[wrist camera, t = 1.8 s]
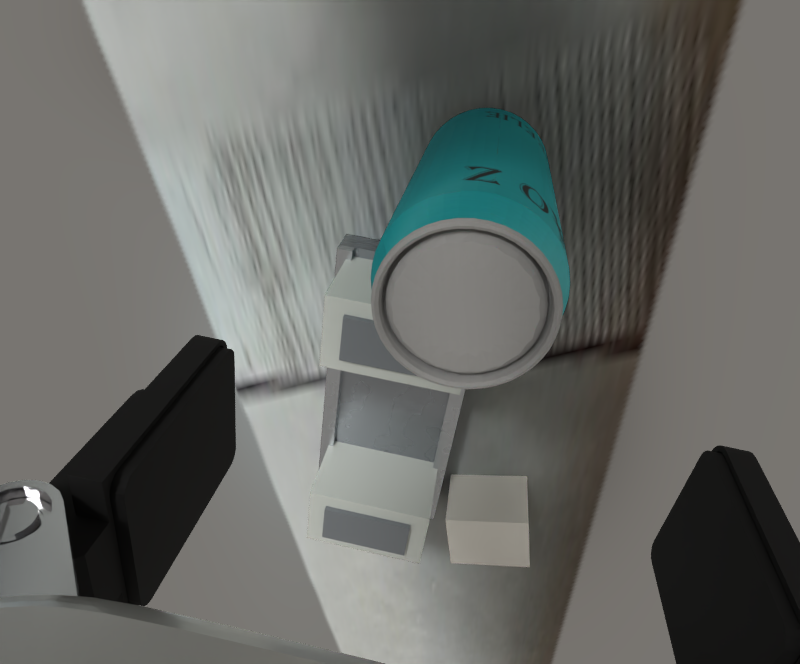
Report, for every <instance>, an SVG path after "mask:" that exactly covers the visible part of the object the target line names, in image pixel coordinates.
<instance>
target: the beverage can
mask: <svg viewBox="0 0 800 664" xmlns="http://www.w3.org/2000/svg"><path fill="white" fill-rule="evenodd" d="M371 288H372V293H371V309H372V317H373V321H374V325H375V328H376V330H377V333H378V335H379V337H380V339H381V341H382V342H383V344H384V346H385V347H386V349H387V350H388V351H389V352H390V354H391V355H392V356H393V357H394V358H395V359H396V360H397V361H398V362H399V363H400V364H401V365H403V366H404V367H405V368H406V369H408V370H409V371H411V372H412V373H414V374H415V375H417V376H419V377H421V378H423V379H425V380H427V381H429V382H432V383H435V384H439V385H442V386H446V387H451V388H458V389H481V388H488V387H493V386H498V385H501V384H504V383H506V382H509V381H512V380H514V379H516V378H518V377H520V376H522V375H523V374H525V373H526V372H527V371H529V370H530V369H532V368H533V367H534V366H535V365H536V364H537V363H538V362H539V361H540V360H541V359H543V357H544V356H545V355H546V353H547V352H548V351H549V349H550V348H551V346H552V344H553V342H554V340H555V338H556V337H557V334H558V331H559V328H560V325H561V321H562V316H563V314H564V312H565V309H566V305H567V302H568V298H569V291H570V271H569V265H568V260H567V254H566V249H565V244H564V239H563V234H562V229H561V224H560V219H559V214H558V209H557V203H556V198H555V193H554V188H553V183H552V178H551V173H550V168H549V163H548V158H547V154H546V150H545V147H544V145H543V143H542V140H541V139H540V137H539V136H538V134H537V133H536V131H535V130H534V129H533V128H532V127H531V126H530V125H529V124H528V123H527V122H526V121H524V120H523V119H522V118H520V117H519V116H517V115H515V114H513V113H511V112H508V111H505V110H502V109H495V108H479V109H473V110H469V111H466V112H463V113H461V114H459V115H457V116H455V117H453V118H452V119H450V120H449V121H448V122H446V123H445V124H444V125H443V126H442V127H441V128H440V129H439V130H438V131H437V132H436V133H435V135H434V136H433V138H432V139H431V141H430V143H429V145H428V146H427V148H426V150H425V152H424V154H423V156H422V158H421V160H420V162H419V164H418V166H417V168H416V170H415V172H414V174H413V176H412V178H411V180H410V182H409V184H408V186H407V188H406V190H405V192H404V194H403V196H402V198H401V200H400V202H399V204H398V206H397V208H396V210H395V212H394V214H393V216H392V218H391V220H390V222H389V224H388V226H387V228H386V230H385V232H384V234H383V236H382V238H381V240H380V242H379V244H378V246H377V249H376V251H375V255H374V258H373V262H372V269H371Z"/></svg>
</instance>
